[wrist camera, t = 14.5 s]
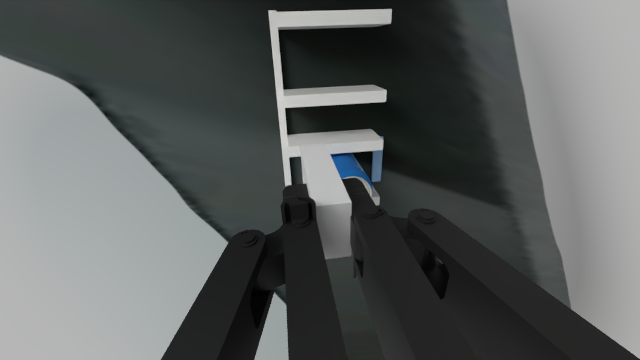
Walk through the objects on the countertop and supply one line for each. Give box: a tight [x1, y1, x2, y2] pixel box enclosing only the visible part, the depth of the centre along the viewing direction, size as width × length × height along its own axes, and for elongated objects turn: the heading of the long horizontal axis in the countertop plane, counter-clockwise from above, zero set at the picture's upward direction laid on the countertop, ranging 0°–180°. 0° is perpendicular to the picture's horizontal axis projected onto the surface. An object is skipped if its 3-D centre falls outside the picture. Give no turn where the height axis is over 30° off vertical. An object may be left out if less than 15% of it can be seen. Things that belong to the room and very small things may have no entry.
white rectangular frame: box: [268, 9, 392, 205], centre depth 41 cm, size 28×14×6 cm, turn 2°
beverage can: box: [330, 152, 372, 198], centre depth 42 cm, size 6×6×12 cm
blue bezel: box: [371, 136, 384, 182], centre depth 48 cm, size 8×2×1 cm, turn 2°
